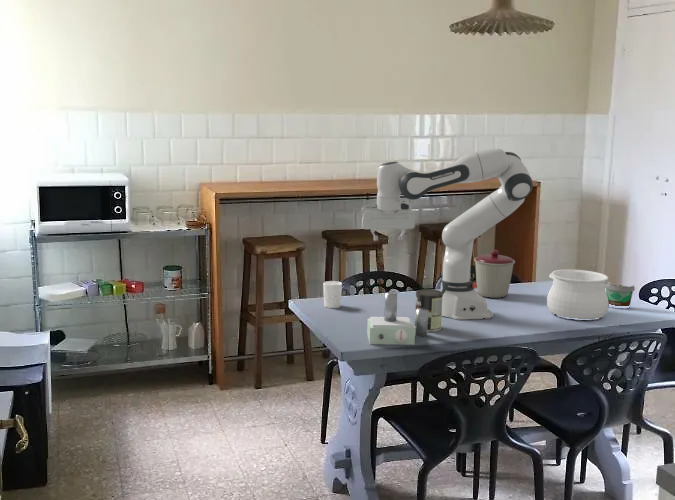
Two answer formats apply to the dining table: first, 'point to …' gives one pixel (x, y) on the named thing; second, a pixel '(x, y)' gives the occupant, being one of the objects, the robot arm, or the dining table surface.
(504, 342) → the dining table surface
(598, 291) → the pot
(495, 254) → the canister
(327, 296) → the white cup
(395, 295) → the cylinder
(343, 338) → the dining table surface
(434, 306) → the coffee can
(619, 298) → the food container
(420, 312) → the spacer
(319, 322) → the dining table surface
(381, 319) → the scale
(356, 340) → the dining table surface
